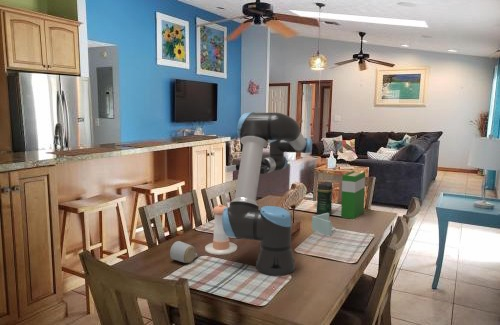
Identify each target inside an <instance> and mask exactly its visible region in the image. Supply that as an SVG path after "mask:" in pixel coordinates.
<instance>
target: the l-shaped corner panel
mask: <svg viewBox="0 0 500 325" xmlns="http://www.w3.org/2000/svg"><path fill="white" fill-rule="evenodd" d="M332 223H333V222H332V221H330V215H329V213H324V214H320V215H319V214H317V215H312V216H311V230H312V231H313V232H317V233H319V234H323V235H325V236H328V237H331V236H332V234H334V233H336V228H335V227H334V226H333V225H332Z"/></svg>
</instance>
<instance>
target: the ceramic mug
mask: <svg viewBox="0 0 500 325" xmlns="http://www.w3.org/2000/svg"><path fill="white" fill-rule="evenodd" d="M169 256H170V258H171V259H172V260H174V261H176V262H177V261H178V262H180V263H183V264H190V263H191V262H193V261H194V260H195V259H196V258H197V257H198V253H197V252H196V248H195V247H194V246H193V245H192V244H188V243H186V242H183V241H180V240H177V241H175V242H173V244H172V245H171V247H170V251H169Z"/></svg>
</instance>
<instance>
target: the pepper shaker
mask: <svg viewBox="0 0 500 325" xmlns="http://www.w3.org/2000/svg"><path fill="white" fill-rule="evenodd" d="M227 207H228V206H226V205H223V204H219V205H216V206H214V207H213V209H212V213H213V215H214V225H213V239H212V243H213V248H214V249H217V250H225V249H228V248H229V247H230V237H228V236H227V235H226V234H225V232H224V229H223V224H222V216H223V211H224V209H225V208H227Z"/></svg>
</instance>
